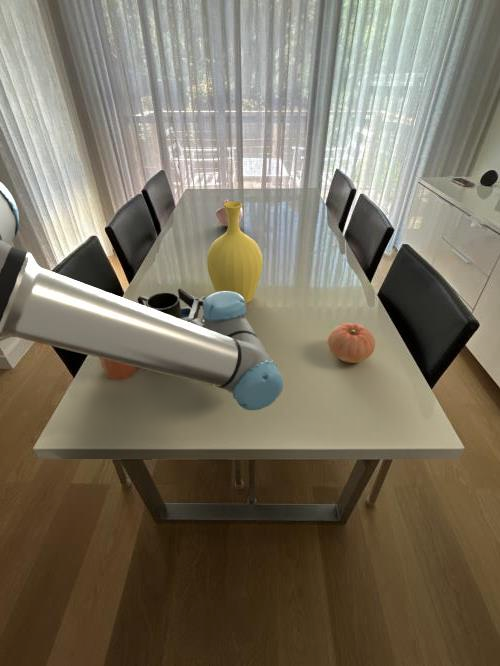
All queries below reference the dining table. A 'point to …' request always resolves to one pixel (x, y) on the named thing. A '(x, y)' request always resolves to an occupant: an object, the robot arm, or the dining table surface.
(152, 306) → the mug
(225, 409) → the dining table surface
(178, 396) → the dining table surface
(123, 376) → the terracotta cup
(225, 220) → the mortar and pestle
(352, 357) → the orange pumpkin
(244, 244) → the vase
